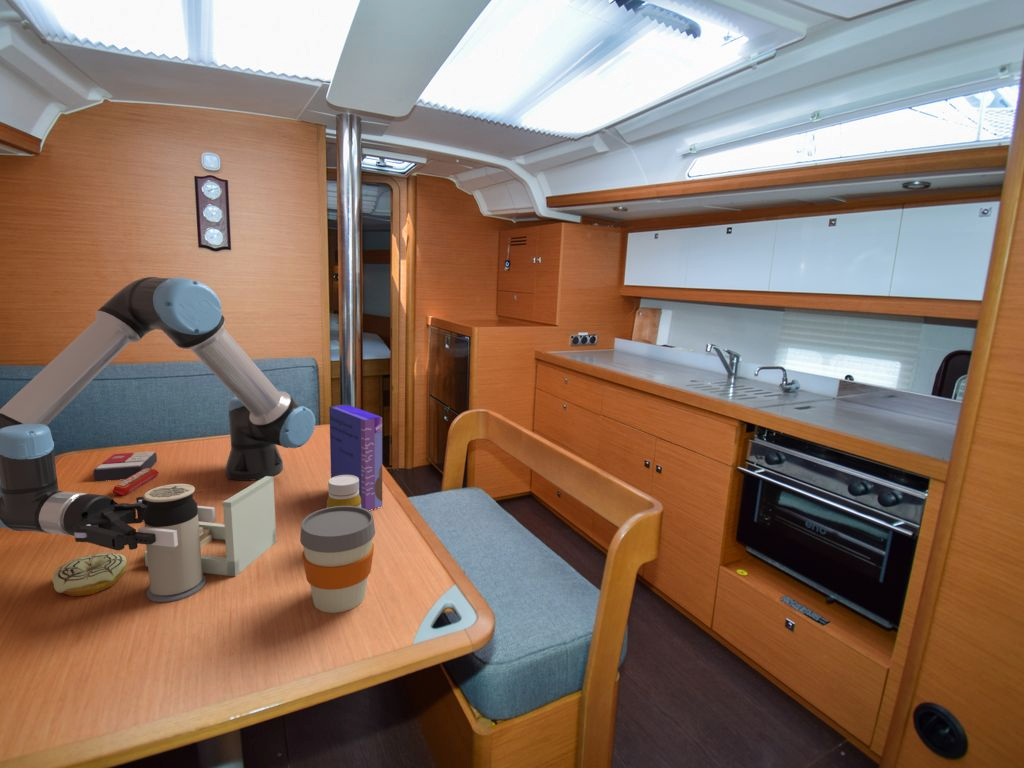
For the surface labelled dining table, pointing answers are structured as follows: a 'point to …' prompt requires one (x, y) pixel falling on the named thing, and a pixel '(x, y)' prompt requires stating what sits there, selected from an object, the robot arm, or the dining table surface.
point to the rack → (242, 529)
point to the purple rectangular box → (357, 450)
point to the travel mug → (181, 563)
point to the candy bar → (135, 481)
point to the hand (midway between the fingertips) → (195, 526)
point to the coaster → (176, 597)
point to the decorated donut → (89, 574)
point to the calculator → (124, 465)
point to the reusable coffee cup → (338, 556)
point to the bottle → (344, 491)
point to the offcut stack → (204, 536)
